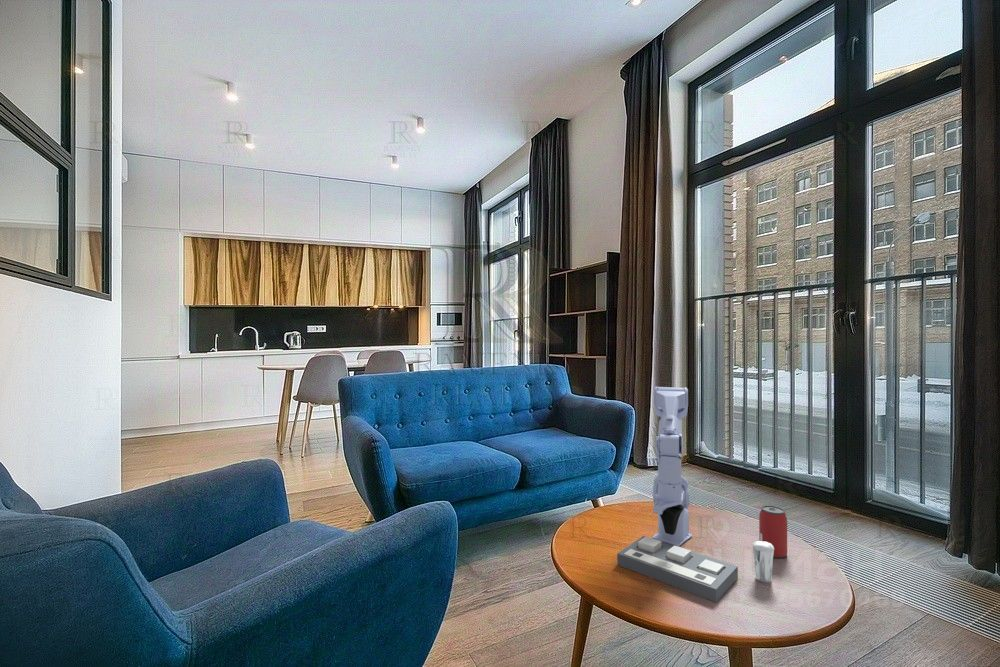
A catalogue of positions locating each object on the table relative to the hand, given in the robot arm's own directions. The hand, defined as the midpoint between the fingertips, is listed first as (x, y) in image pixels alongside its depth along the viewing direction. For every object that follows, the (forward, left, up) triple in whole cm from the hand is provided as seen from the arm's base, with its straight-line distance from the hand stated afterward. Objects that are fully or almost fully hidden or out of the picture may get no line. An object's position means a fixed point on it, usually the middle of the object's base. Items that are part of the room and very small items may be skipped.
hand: (670, 533), depth 125 cm
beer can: (-25, +17, -9) cm, 32 cm away
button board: (+2, +2, -8) cm, 9 cm away
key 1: (0, -6, -7) cm, 9 cm away
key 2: (0, +10, -8) cm, 13 cm away
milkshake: (-9, +19, -9) cm, 23 cm away
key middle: (0, +2, -7) cm, 7 cm away
